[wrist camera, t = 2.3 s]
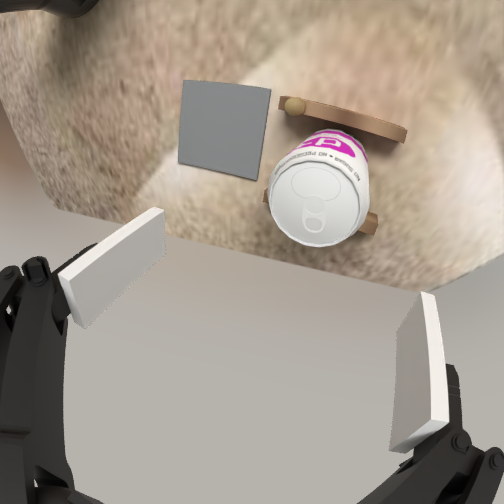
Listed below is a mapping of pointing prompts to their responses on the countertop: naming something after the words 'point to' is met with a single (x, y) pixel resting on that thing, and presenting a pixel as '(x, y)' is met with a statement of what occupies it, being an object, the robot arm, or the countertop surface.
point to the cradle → (350, 119)
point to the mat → (223, 126)
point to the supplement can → (321, 189)
